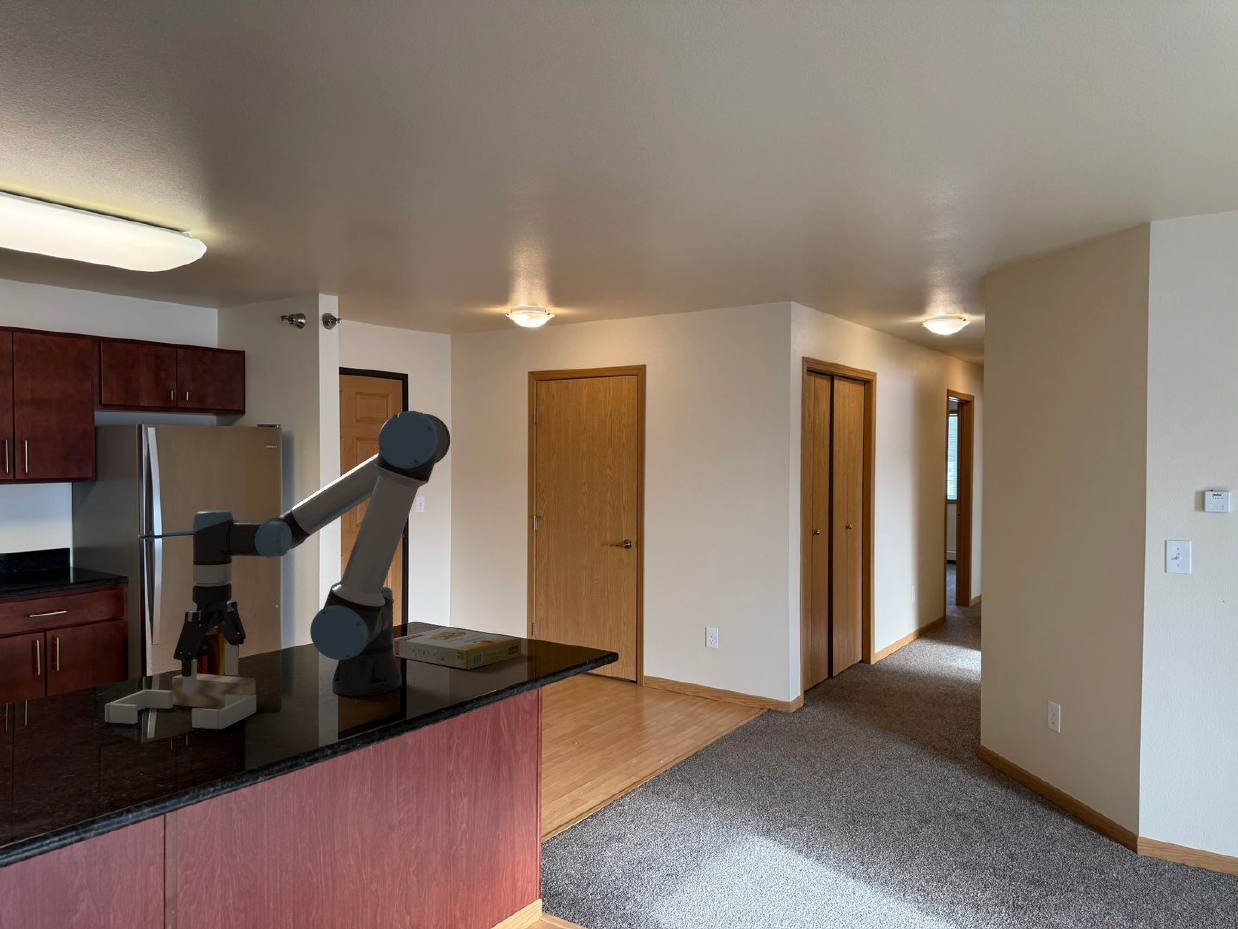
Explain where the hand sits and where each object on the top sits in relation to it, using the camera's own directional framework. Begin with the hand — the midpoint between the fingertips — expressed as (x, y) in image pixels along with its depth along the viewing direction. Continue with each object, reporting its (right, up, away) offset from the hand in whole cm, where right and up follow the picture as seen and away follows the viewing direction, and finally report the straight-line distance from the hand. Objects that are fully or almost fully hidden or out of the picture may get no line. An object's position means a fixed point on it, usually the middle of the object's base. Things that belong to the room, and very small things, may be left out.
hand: (211, 683), depth 179 cm
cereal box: (+44, -5, +43) cm, 62 cm away
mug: (-8, -5, +17) cm, 19 cm away
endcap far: (-11, -5, -6) cm, 14 cm away
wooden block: (+1, -5, 0) cm, 5 cm away
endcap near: (+7, -5, -10) cm, 13 cm away
